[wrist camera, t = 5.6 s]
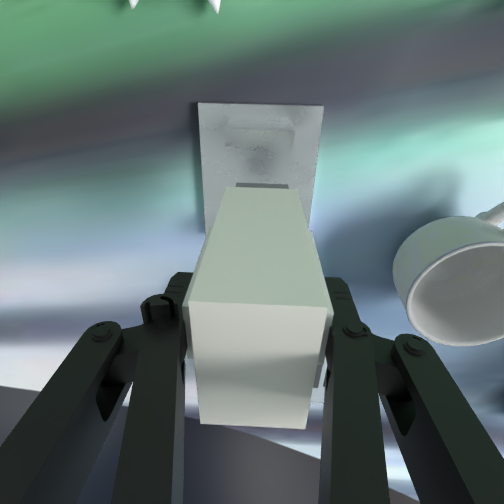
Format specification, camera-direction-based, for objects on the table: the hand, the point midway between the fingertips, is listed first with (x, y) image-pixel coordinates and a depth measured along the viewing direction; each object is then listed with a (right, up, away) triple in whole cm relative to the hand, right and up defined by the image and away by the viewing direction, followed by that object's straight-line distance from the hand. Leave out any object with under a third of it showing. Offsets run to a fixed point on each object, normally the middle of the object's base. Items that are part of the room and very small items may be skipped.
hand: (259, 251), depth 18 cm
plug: (0, +2, +3) cm, 4 cm away
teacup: (+19, +1, +14) cm, 24 cm away
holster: (0, +7, +11) cm, 13 cm away
